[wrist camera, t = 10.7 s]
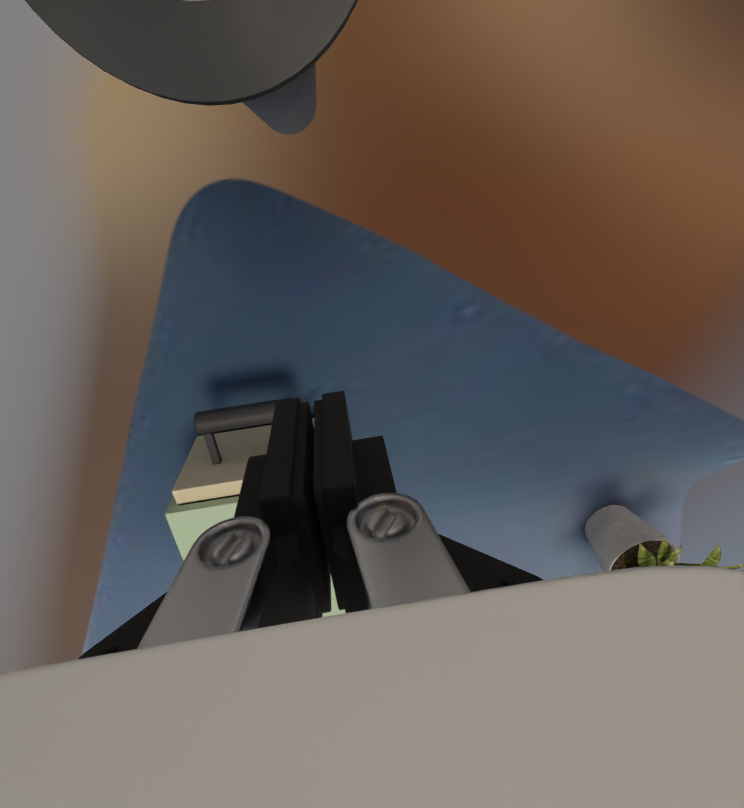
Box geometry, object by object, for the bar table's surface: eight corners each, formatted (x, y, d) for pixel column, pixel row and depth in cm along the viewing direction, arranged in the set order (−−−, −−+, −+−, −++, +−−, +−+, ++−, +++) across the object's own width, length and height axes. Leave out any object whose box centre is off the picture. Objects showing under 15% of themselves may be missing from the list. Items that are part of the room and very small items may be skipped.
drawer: (181, 390, 39) (150, 439, 32) (321, 369, 39) (321, 412, 32) (236, 554, 46) (221, 622, 39) (352, 535, 47) (357, 599, 40)
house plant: (711, 484, 50) (874, 613, 35) (641, 580, 55) (757, 727, 41) (596, 454, 47) (723, 582, 32) (533, 559, 52) (617, 710, 37)
